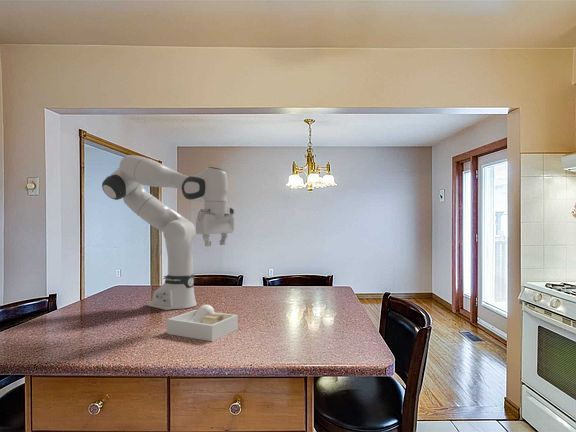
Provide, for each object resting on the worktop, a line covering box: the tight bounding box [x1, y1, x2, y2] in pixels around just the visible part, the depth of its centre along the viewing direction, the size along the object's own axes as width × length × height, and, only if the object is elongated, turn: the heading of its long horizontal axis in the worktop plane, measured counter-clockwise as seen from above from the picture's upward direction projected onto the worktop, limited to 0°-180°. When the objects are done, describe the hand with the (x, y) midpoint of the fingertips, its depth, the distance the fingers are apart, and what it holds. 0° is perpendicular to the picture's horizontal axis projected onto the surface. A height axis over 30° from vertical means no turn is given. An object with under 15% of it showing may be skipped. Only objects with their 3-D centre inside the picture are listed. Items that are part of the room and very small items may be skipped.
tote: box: [166, 309, 239, 342], centre depth 132 cm, size 19×15×5 cm
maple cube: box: [203, 313, 224, 325], centre depth 131 cm, size 5×5×5 cm
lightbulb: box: [190, 304, 215, 323], centre depth 135 cm, size 6×6×11 cm
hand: (215, 245), depth 145 cm, fingers open, 8 cm apart
